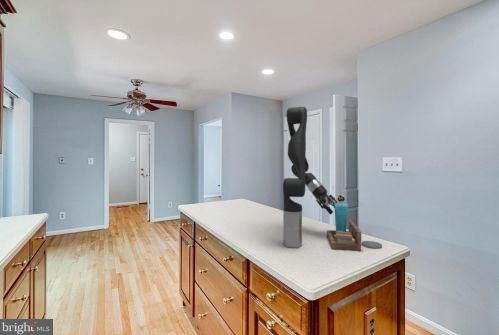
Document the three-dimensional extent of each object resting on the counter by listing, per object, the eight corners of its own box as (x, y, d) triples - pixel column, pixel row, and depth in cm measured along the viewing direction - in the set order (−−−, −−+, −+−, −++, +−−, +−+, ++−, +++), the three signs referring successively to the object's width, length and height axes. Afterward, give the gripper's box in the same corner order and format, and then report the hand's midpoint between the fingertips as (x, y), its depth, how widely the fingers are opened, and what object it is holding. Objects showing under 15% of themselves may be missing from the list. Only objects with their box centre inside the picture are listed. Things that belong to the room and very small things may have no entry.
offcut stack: (355, 249, 119) (355, 236, 118) (336, 248, 120) (336, 235, 120) (351, 243, 127) (351, 231, 127) (333, 242, 129) (333, 230, 129)
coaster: (384, 249, 118) (384, 247, 118) (364, 248, 120) (364, 246, 120) (378, 243, 127) (378, 241, 127) (359, 241, 129) (359, 240, 129)
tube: (345, 237, 136) (345, 202, 135) (349, 240, 131) (350, 204, 130) (332, 238, 135) (332, 202, 134) (336, 241, 130) (336, 204, 130)
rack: (361, 251, 116) (361, 232, 116) (331, 249, 119) (332, 230, 118) (351, 236, 137) (351, 220, 137) (326, 235, 140) (327, 219, 139)
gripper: (314, 185, 136) (334, 210, 128) (327, 183, 145) (346, 206, 138) (305, 194, 140) (324, 218, 132) (319, 192, 150) (337, 214, 142)
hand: (335, 212), depth 135 cm, fingers open, 8 cm apart
